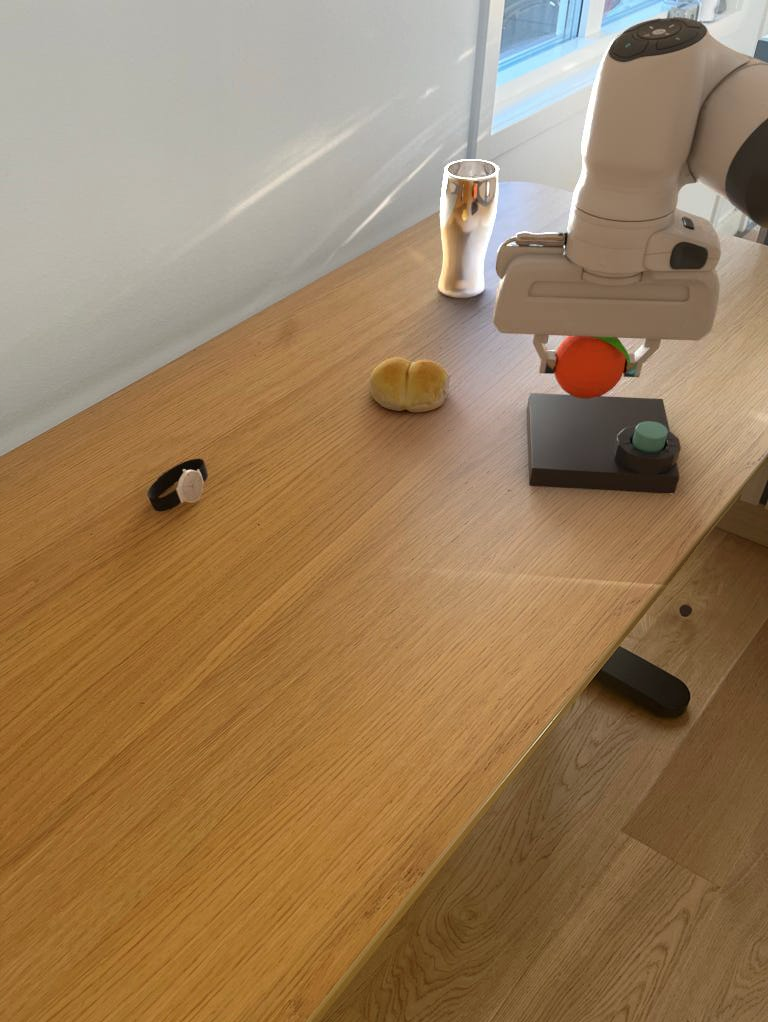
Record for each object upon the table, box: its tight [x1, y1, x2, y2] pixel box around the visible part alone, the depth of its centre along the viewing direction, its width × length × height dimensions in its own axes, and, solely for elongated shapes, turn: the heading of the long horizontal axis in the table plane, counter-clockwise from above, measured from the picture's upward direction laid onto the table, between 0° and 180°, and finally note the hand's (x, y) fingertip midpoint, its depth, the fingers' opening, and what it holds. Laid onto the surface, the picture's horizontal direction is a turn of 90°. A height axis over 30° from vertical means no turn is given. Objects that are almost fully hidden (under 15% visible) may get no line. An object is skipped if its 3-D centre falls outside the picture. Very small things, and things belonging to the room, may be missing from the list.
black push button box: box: [526, 392, 682, 495], centre depth 97 cm, size 14×14×4 cm
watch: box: [147, 458, 209, 512], centre depth 95 cm, size 8×5×4 cm, turn 147°
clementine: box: [553, 336, 631, 399], centre depth 94 cm, size 8×7×7 cm
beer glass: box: [437, 159, 500, 299], centre depth 120 cm, size 7×7×15 cm
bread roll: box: [368, 356, 451, 413], centre depth 106 cm, size 8×9×4 cm
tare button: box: [632, 421, 668, 452], centre depth 92 cm, size 3×3×2 cm
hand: (588, 372), depth 95 cm, fingers closed on clementine, 7 cm apart
